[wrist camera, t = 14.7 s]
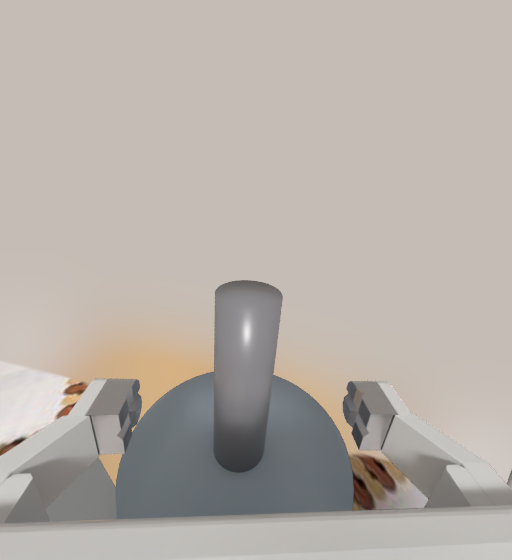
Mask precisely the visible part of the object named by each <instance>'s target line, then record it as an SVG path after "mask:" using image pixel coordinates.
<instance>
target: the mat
mask: <svg viewBox="0 0 512 560" xmlns="http://www.w3.org/2000/svg"><path fill="white" fill-rule="evenodd" d="M115 497H116V487H115V485H114V484H113V482H112V480H111V479H110V477H109V475H108V473H107V472H106V470H105V468H104V466H103V465H102V463H101V461H100V460H99V458H97V459H96V460H95V461H94V462H93V463H92V464H91V465H89V466H88V467H87V468H86V469H85V470H84V471H83V472H82V473H81V474H80V475H79V476H78V477H77V478H76V479H75V480H74V481H73V482H72V483H71V484H70V485H69V486H68V487H67V488H66V489H65V490H64V491H63V492H62V493H61V494H60V495H59V496H58V497H57V498H56V499H55V500H54V501H53V502H52V503H51V504H50V505H49V506H48V507H47V508H46V509H45V510H46V513H47V515H48V518H49V520H50V522H55V521H83V520H111V519H117V510H116V499H115Z"/></svg>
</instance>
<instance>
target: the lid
mask: <svg viewBox="0 0 512 560" xmlns="http://www.w3.org/2000/svg"><path fill="white" fill-rule="evenodd" d="M281 306H282V293H281V292H280V291H279V290H278V289H277V288H275V287H273V286H271V285H269V284H266V283H263V282H257V281H248V280H247V281H246V280H242V281H232V282H228V283H225V284H223V285H221V286H219V287H218V288H217V289H216V291H215V345H214V347H215V348H214V351H215V352H214V372H210V373H206V374H203V375H200V376H197V377H194V378H192V379H190V380H187V381H185V382H184V383H182V384H180V385H178V386H176V387H175V388H173V389H172V390H170V391H169V392H167V393H166V394H165V395H164V396H162V397H161V398H160V399H159V400H158V401H156V402H155V404H153V406H152V407H151V408H150V409H149V410H148V411H147V412H146V413H145V414H144V416H143V417H142V418H141V420H140V421H139V422H138V424H137V426H136V427H135V429H134V431H133V432H132V437H131V440H130V442H129V445H128V447H127V450H126V452H125V454H123V455H122V458H121V461H120V464H119V469H118V475H117V480H116V497H115V499H116V510H117V519H138V518H166V517H194V516H221V515H248V514H276V513H303V512H330V511H352V508H353V494H354V486H353V472H352V468H351V463H350V458H349V455H348V452H347V449H346V446H345V443H344V441H343V439H342V436H341V434H340V432H339V430H338V428H337V427H336V425H335V424H334V422H333V420H332V419H331V417H329V415H328V414H327V412H326V411H325V410H324V409H323V407H322V406H321V405H320V404H319V403H318V402H317V401H316V400H315V399H314V398H312V397H311V396H310V395H309V394H308V393H306V392H305V391H303V390H302V389H301V388H299V387H298V386H296V385H294V384H293V383H291V382H289V381H287V380H285V379H282V378H280V377H278V376H275V375H273V372H274V364H275V356H276V348H277V339H278V331H279V323H280V314H281Z"/></svg>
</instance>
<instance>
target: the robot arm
mask: <svg viewBox="0 0 512 560" xmlns="http://www.w3.org/2000/svg"><path fill="white" fill-rule="evenodd" d="M139 389H140V384H139V381H138V380H137V379H98V378H95V379H94V380H92V381H91V383H90V384H89V385H88V387H87V388H86V390H85V391H84V393H83V394H82V396H81V397H80V399H79V400H78V401H77V403H76V404H75V406H74V407H73V409H72V410H71V412H70V413H69V414H68V416H62V417H61V418H59V419H57V420H56V421H54V422H53V423H51V424H50V425H48V426H47V427H45V428H43V429H42V430H40V431H39V432H37V433H36V434H34V435H33V436H31V437H30V438H28V439H26V440H25V441H23V442H22V443H20V444H19V445H17V446H16V447H14V448H12V449H11V450H9V451H8V452H6V453H5V454H3V455H2V456H0V560H512V471H511V474H510V476H509V479H508V482H507V484H506V483H505V482H504V480H503V479H502V478H501V477H500V476H499V475H498V474H497V472H496V471H495V470H494V469H493V468H492V466H491V465H490V464H489V463H488V462H486V461H485V460H483V459H482V458H480V457H479V456H477V455H475V454H474V453H473V452H471V451H470V450H468V449H467V448H465V447H463V446H462V445H461V444H459V443H458V442H456V441H455V440H453V439H451V438H450V437H449V436H447V435H446V434H444V433H443V432H441V431H440V430H438V429H437V428H435V427H434V426H432V425H431V424H429V423H428V422H426V421H425V420H423V419H421V418H420V417H419V416H417V415H412V414H411V412H410V411H409V409H408V408H407V407H406V405H405V404H404V402H403V401H402V400H401V398H400V397H399V395H398V394H397V393H396V391H395V390H394V389H393V387H392V386H391V384H390V383H389V382H387V381H374V382H373V381H350V382H349V383H348V386H347V390H348V395H346V396H345V397H344V401H343V412H344V416H345V419H346V421H347V423H348V424H349V425H350V426H352V427H353V431H352V435H353V437H354V440H355V442H356V444H357V446H358V449H359V450H382V453H383V454H384V455H385V456H386V457H387V458H388V459H389V460H390V461H391V462H392V463H393V464H394V465H395V466H396V467H397V468H398V469H399V470H400V471H401V472H402V473H403V474H404V475H405V476H406V477H407V478H408V479H409V480H410V481H411V482H412V483H413V484H414V485H415V486H416V487H417V488H418V489H419V490H420V491H421V492H422V493H423V494H424V495H425V496H426V497H427V498H428V501H427V503H426V505H425V507H424V508H413V509H385V510H358V511H330V512H303V513H276V514H248V515H221V516H194V517H166V518H138V519H111V520H83V521H55V522H50V520H49V518H48V515H47V513H46V510H45V509H46V508H47V507H48V506H49V505H50V504H51V503H52V502H53V501H54V500H55V499H56V498H57V497H58V496H59V495H60V494H61V493H62V492H63V491H64V490H65V489H66V488H67V487H68V486H69V485H70V484H71V483H72V482H73V481H74V480H75V479H76V478H77V477H78V476H79V475H80V474H81V473H82V472H83V471H84V470H85V469H86V468H87V467H88V466H89V465H91V464H92V463H93V462H94V461H95V460H96V459H97V458H98V457H99V455H105V454H125V452H126V450H127V447H128V445H129V442H130V440H131V437H132V430H131V428H132V427H134V426H135V425H136V424H137V422H138V419H139V417H140V412H141V405H142V400H141V396H140V395H139V394H138V391H139Z"/></svg>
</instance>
